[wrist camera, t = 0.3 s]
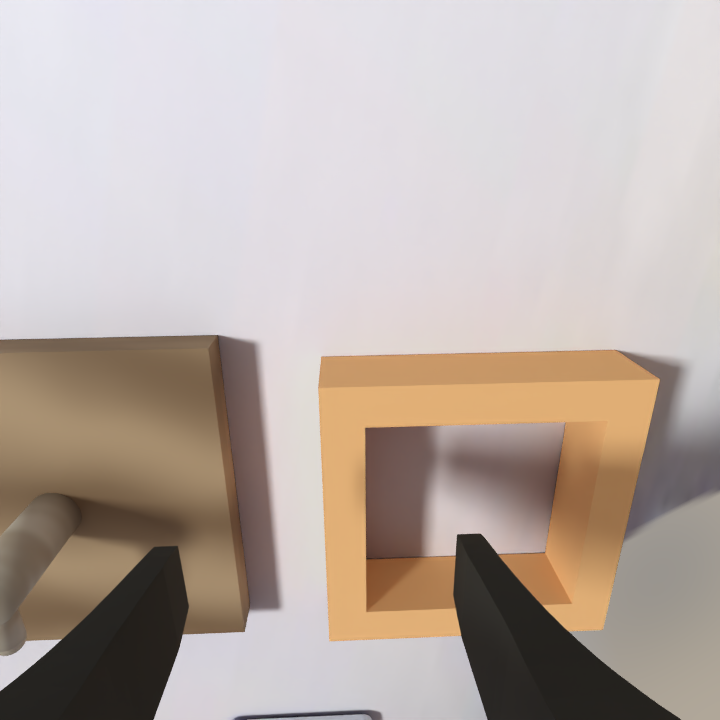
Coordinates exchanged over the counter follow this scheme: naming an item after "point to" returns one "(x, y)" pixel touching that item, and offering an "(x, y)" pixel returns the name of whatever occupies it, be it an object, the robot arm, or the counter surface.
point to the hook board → (114, 479)
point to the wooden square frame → (474, 407)
